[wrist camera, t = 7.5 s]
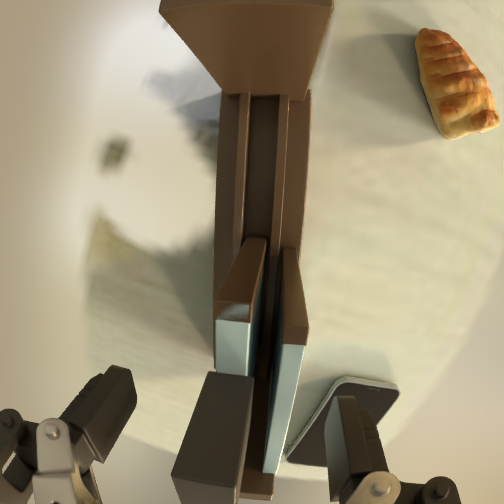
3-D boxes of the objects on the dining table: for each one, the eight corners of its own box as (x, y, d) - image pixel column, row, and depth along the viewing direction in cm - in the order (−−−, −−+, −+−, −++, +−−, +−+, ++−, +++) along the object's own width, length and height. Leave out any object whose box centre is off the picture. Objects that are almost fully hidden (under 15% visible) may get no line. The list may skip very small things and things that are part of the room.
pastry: (389, 39, 16) (407, 20, 12) (446, 32, 14) (467, 17, 11) (439, 146, 18) (466, 144, 14) (490, 129, 16) (517, 126, 13)
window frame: (309, 94, 18) (350, -12, 5) (284, 365, 24) (280, 501, 11) (225, 91, 18) (147, -8, 5) (217, 358, 24) (173, 486, 12)
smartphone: (282, 462, 27) (339, 379, 23) (282, 456, 28) (338, 372, 24) (337, 468, 27) (404, 389, 23) (336, 462, 28) (402, 383, 23)
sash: (270, 237, 19) (239, 419, 5) (261, 353, 22) (234, 538, 7) (243, 234, 19) (148, 402, 5) (238, 350, 22) (191, 531, 7)
